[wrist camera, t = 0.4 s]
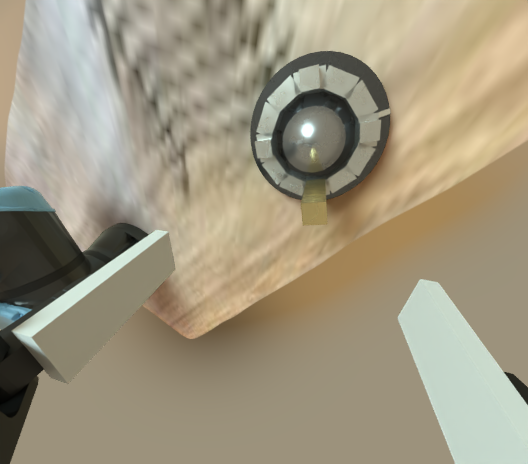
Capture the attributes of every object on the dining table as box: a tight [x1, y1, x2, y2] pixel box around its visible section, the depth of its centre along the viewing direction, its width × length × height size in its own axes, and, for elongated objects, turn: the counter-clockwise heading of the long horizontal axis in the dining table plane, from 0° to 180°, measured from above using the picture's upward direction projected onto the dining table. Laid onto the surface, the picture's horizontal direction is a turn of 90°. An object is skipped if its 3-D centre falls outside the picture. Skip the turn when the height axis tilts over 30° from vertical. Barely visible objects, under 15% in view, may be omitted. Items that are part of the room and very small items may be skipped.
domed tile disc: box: [255, 64, 381, 225], centre depth 23 cm, size 14×14×12 cm
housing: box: [251, 51, 391, 200], centre depth 27 cm, size 18×18×7 cm
